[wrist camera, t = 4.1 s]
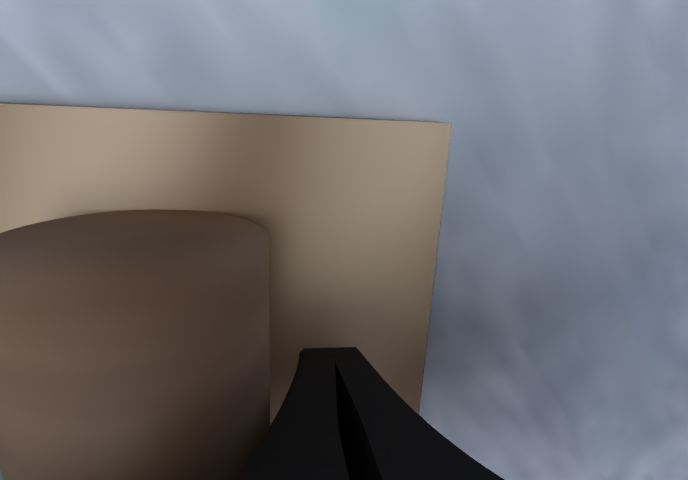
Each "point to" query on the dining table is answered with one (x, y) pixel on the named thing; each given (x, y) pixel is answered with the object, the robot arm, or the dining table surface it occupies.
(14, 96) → the dining table surface
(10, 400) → the roller
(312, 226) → the tan flat square slab
